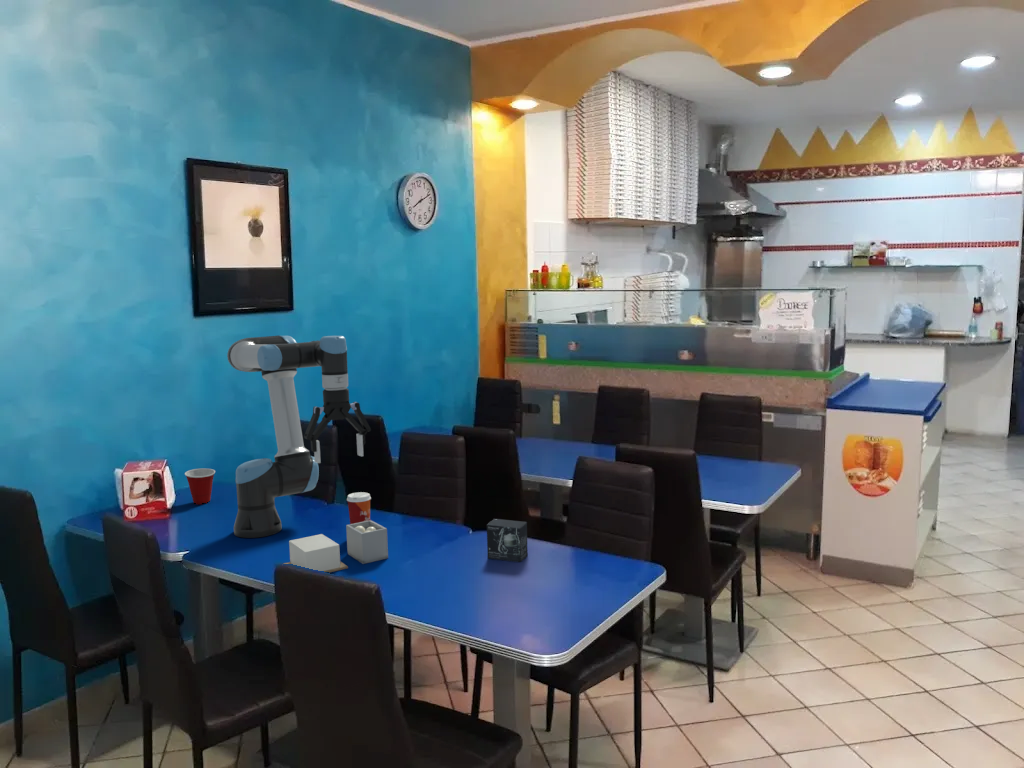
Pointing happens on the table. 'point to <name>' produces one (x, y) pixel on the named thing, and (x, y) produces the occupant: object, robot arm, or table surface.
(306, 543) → the lid
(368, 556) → the dough box
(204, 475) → the plastic cup
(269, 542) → the table surface
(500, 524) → the box
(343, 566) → the trivet
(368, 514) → the paper cup
